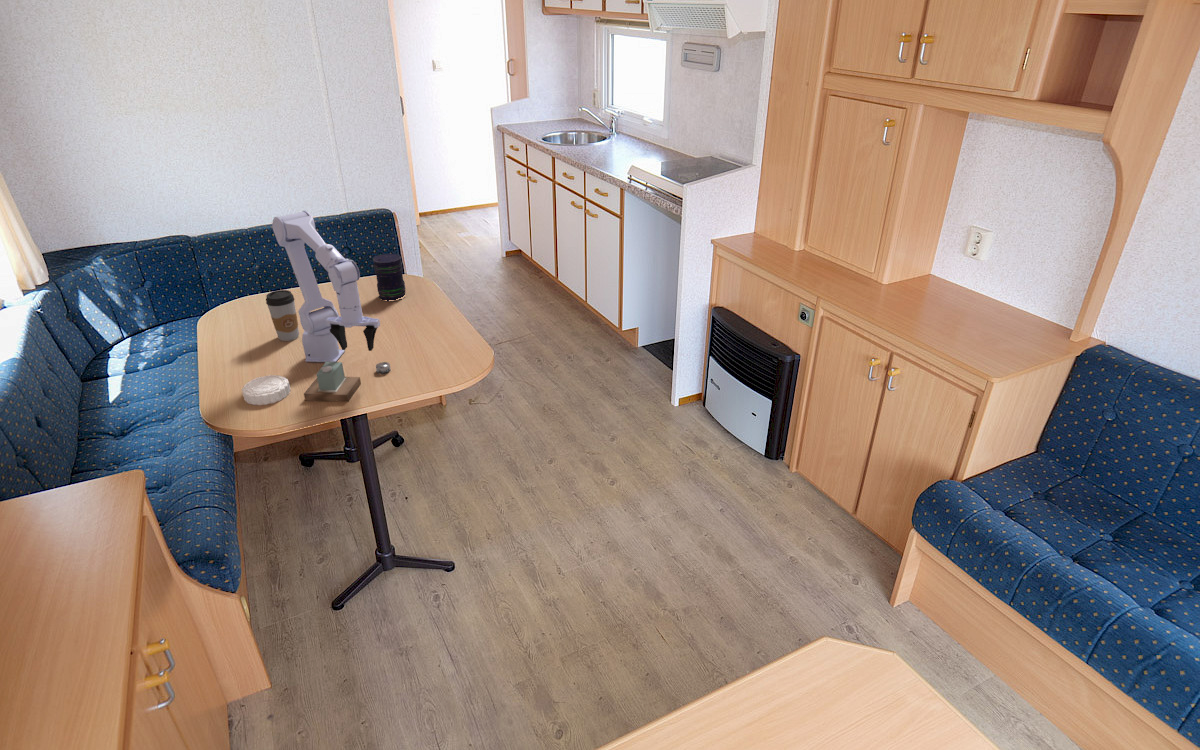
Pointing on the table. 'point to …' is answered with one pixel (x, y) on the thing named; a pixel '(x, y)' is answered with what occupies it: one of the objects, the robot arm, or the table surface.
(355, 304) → the robot arm
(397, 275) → the storage jar
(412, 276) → the table surface
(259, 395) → the mooncake
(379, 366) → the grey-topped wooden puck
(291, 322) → the coffee cup
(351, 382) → the stand
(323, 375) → the block
